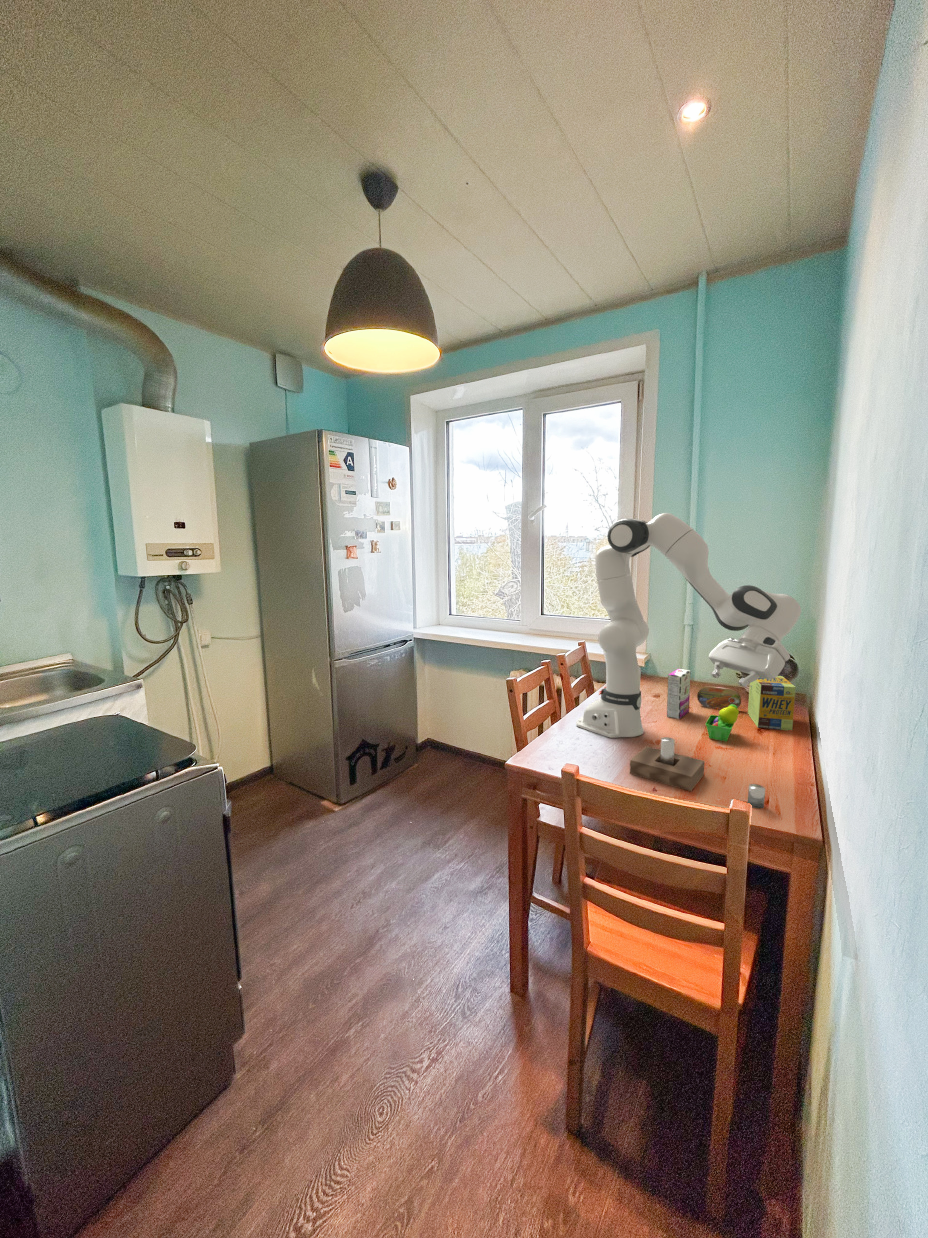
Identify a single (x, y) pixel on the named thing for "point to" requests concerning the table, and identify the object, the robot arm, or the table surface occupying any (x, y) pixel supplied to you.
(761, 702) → the protein box
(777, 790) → the table surface
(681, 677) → the candy bar box
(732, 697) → the tin
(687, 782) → the hole block
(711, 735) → the fruit basket
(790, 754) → the table surface
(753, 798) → the short pin
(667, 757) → the long pin
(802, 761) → the table surface
